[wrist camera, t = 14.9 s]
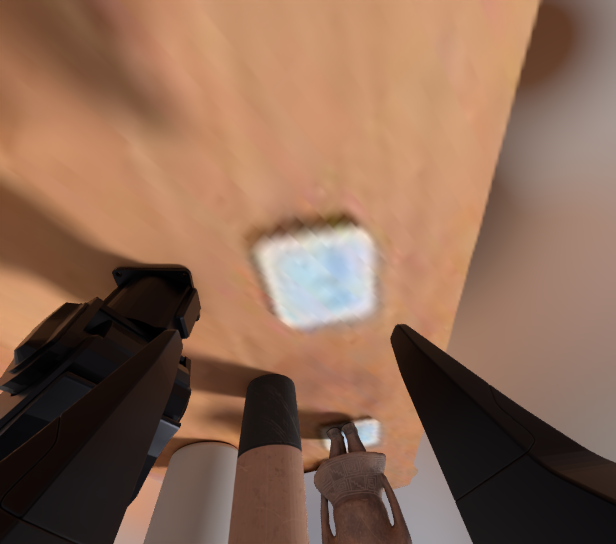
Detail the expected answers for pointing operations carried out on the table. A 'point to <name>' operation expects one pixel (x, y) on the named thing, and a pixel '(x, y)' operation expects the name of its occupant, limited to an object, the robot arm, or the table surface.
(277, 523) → the travel mug
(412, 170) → the table surface
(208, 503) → the cylinder vase
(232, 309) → the table surface
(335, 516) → the clay figurine
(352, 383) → the table surface
